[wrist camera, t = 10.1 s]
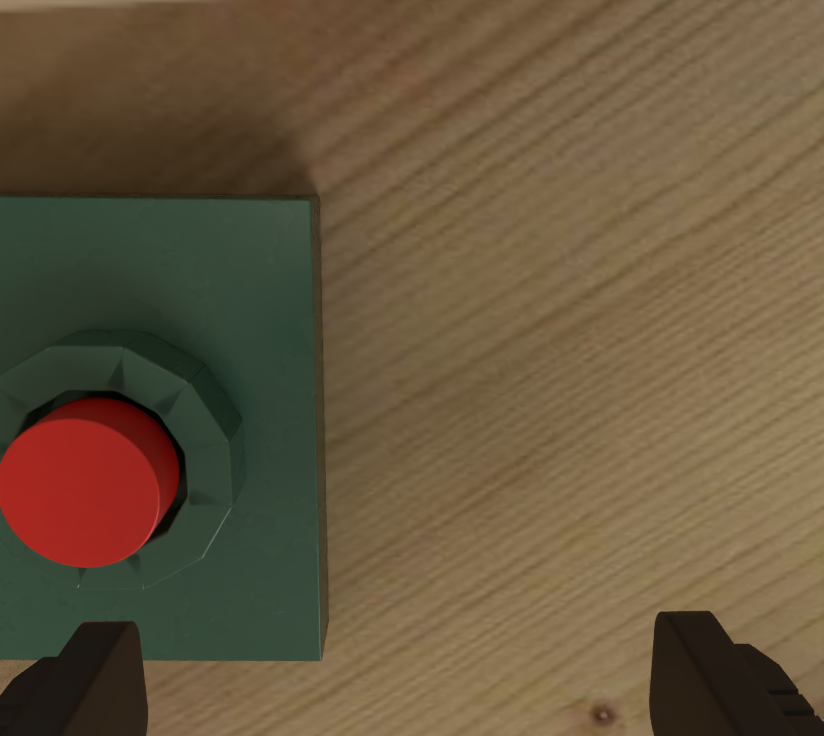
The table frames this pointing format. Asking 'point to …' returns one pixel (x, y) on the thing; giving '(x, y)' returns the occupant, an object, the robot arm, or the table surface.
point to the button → (88, 482)
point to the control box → (177, 413)
